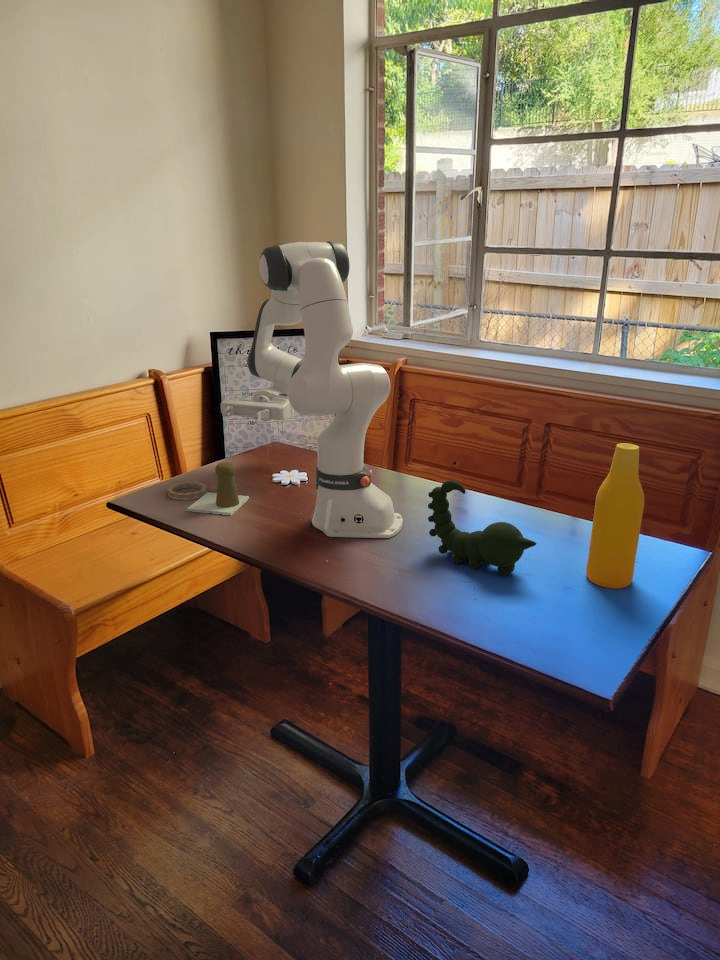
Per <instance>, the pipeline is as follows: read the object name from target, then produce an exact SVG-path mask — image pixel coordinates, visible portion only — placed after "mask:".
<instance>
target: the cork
mask: <svg viewBox="0 0 720 960" xmlns="http://www.w3.org/2000/svg"><path fill="white" fill-rule="evenodd" d="M214 469H215V470H214V471H215V475H216V476H217V485H216V493H217V497H216V505H217V506H219V507H223V508H228V507H234V506H237V505H238V504H239V499H238V495H239V494H238V489H237V485H236V479H235V474H236V472H237V471H236V470H237V469H236V465H235V464H234V463H233V462H230V461H224V462H219V463H218V464H217V465H216V466H215V468H214Z"/></svg>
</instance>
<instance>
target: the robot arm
mask: <svg viewBox="0 0 720 960" xmlns="http://www.w3.org/2000/svg"><path fill="white" fill-rule="evenodd" d="M259 259H260V260H259V265H258V269H259V273H260V277H261V279H262V282H263V284H264V286H266V287H267V288H268V289H269V290H271V292H270V293H271V294H270V297H269V298H267V299H266V300H265V301H264V302H263V303H262V304H261V306H260V307H259V311H258V315H257V317H256V323H255V328H254V334H253V339H252V344H251V348H250V350H249V353H248V356H247V359H246V364H247V367H248V370H249V373H250V374H251V375H252V376H254V377H257V378H259V379H262V380H263V379H264V380H266V381H267V382H271V383H272V384H273V385H272V386H270V387H266V388H264V389H261V390H258V391H256V392H255V393H254V394H253V395H252V398H242V397H241V398H239V397H238V398H237V397H236V398H230V399H226V400H223V401H221V402H220V413H221V414H222V415H223V416H224V417H232V416H233V417H245V418H253V420H261V421H265V422H269V421H275V420H277V421H286V420H291V419H294V416H295V413H297V414H298V415H301V416H308V417H309V416H311V417H322V416H328V415H329V416H330V415H334V418H333V419H332V421H331V422H330V424H329V425H328V426H326V428H324V429H323V430H321V432H320V433H319V435H318V438H317V441H316V442H317V443H316V444H317V445H316V446H317V452H316V453H317V467H316V468H315V486H316V487H315V489H316V501H315V508H314V513H313V516H312V519H311V523H312V526H313V527H314V528H315V529H318V530H320V531H321V532H323V533H324V534H325V535H326V536H327V537H330V538H360V539H361V538H362V539H363V538H364V539H365V538H366V539H367V538H369V539H371V538H372V539H390V538H392V537H394V536H396V535H397V534H398V533H399V532H400V531H401V530H402V528H403V525H404V521H403V516H402V515H401V514H400V513H398V512H395V509H394V504H393V500H392V497H390V496H389V495H388V494H387V493H385V492H384V491H383V490H382V489H380V488H379V487H377V486H376V485H375V484H374V483H373V482H372V475H373V470H372V469H370V470H368V469H367V468H366V467H365V466H364V458H365V457H364V455H365V454H364V451H365V440H366V435H367V431H368V428H369V425H370V424H371V421H372V419H373V418H374V416H375V414H376V412H377V410H378V409H379V408H380V407H381V406H382V405H383V404H384V403H386V401H387V400H388V398H389V396H390V393H391V388H392V387H391V380H390V376H389V374H388V372H387V371H386V370H385V368H384V367H383V366H381V364H374V363H367V362H359V363H358V362H357V363H349V364H348V363H347V364H340V363H339V354H340V351H341V350H343V348H345V347H346V346H347V345H348V344H349V343H350V341H351V340H352V337H353V336H354V335H353V334H354V330H353V324H352V318H351V314H350V308H349V305H348V304H349V303H348V298H347V294H346V291H345V286H344V283H345V281H346V280H347V278H348V277H349V275H350V258H349V254H348V251H347V249H346V248H345V247H344V245H343V243H340V242H337V241H331V240H330V241H326V242H322V241H321V242H320V241H307V242H304V241H297V242H289V243H284V244H281V245H280V244H274V245H271V246H267V247H265V248H264V249H263V250H262V252H261V253H260V257H259ZM301 323H302V325H303V331H304V340H305V348H304V349H305V350H304V355H303V359H302V358H300V357H298V356H295V355H293V354H290V353H288V352H286V351H283V350H281V349H279V348H277V347H275V346H274V345H273V343H272V339H273V334H274V330H275V326H285V327H286V326H287V327H288V326H294V325H297V324H301Z"/></svg>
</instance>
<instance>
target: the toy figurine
mask: <svg viewBox="0 0 720 960" xmlns="http://www.w3.org/2000/svg"><path fill="white" fill-rule="evenodd" d="M452 491H458V492H460V493H462V495H465V494H466V489H465V488H464V485H463V484H462V483H460V482H459V481H457V480H454V479H449V480H446V481H444V482H442V484H441V486H436V487H434V488H433V489H432V490H431V491H429V492H428V494H427V495H428V497H429V498H431V499H432V501H431V502H429V503H428V505H427V507H428V508H427V509H429V510H432V511H433V512H432V515H429V516H428V517H427V520H428V522H429V523H434V528H431V529H429V531H428V532H429V533H428V534H429V536H430V537H436V536H437V537H438V538H439V539H440V540H441V541H440V543H441V545H439V546H438V553H440V554H441V555H444V554H447V553H448V551H449V552H451V554H452V555H453V558H452V562H453V563H454V564H457V565H458V564H459V565H460V564H461V563H462V562H463V561H468V564H469V567H470V568H472V569H478V568H480V567H481V565H482V563H485V562H487V563H488V564H489V565H491V566H494V567H497V572H498V573H499V574H500V575H502V576H508V575H509V576H510V574H512V573H513V572H514V571H515V568H516V565H515V564H516V563H517V562H519V561H520V559H521V558H522V556H523V554H524V551H526V550H527V549H529V548H533V547H534V546H536V545H537V542H535V540H531V539H528V538H526V537H524V536H523V534H522V532H521V531H520V530H519V529H518V528H517V527H516V526H515V525H514V524H511V523H509V522H505V521H499V522H494V523H491V524H489V525H487V526H486V527H485V528H484V529H483V530H475V531H472V532H468V531H461V530H460V529H458V528H456V525H455V523H454V522H453V520H452V513H451V511H450V510H449V508H450V501H449V500H448V499H447V497H448V494H449V493H451V492H452Z"/></svg>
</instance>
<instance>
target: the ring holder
mask: <svg viewBox="0 0 720 960" xmlns="http://www.w3.org/2000/svg"><path fill="white" fill-rule="evenodd" d="M190 488H192V489H199V490H197V491H194V492H187V493H185V492H184V493H180V492H176V491H178V490H182V489H190ZM208 492H209V491H208V487H207V484H206V483H205V482H204V483H203V482H201V481H192V480H190V481H181V482H176V483H174V484H171V485H170V486H168V487H167V496H168V498H170V499H172V500H178V501H191V500H196V499H197V500H198V499H200V498H201V497H202V496H204V495H205V494H206V493H208Z"/></svg>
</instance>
